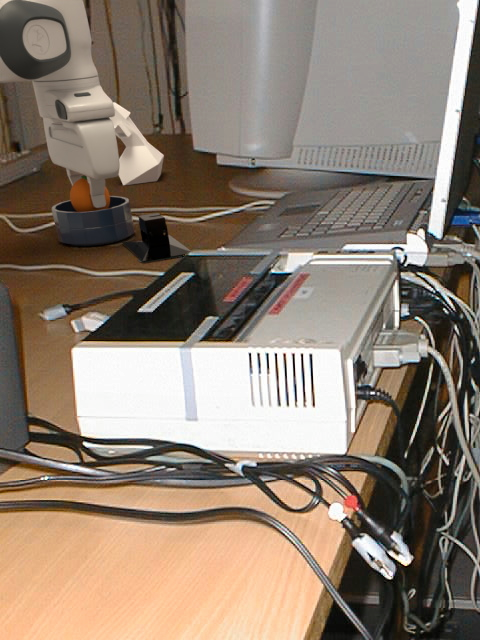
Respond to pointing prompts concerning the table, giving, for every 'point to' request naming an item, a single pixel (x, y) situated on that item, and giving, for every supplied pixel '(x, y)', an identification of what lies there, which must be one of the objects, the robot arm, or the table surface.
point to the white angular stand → (135, 151)
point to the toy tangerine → (85, 196)
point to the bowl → (93, 223)
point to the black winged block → (155, 241)
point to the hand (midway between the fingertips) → (91, 203)
